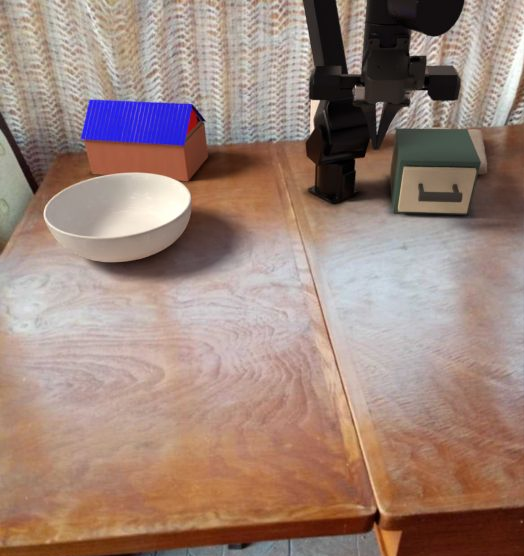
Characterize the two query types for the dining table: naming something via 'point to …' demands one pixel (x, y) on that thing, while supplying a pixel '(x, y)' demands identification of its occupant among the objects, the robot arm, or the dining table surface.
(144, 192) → the serving bowl
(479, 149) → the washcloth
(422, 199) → the drawer
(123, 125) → the house
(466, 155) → the cabinet
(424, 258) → the dining table surface
